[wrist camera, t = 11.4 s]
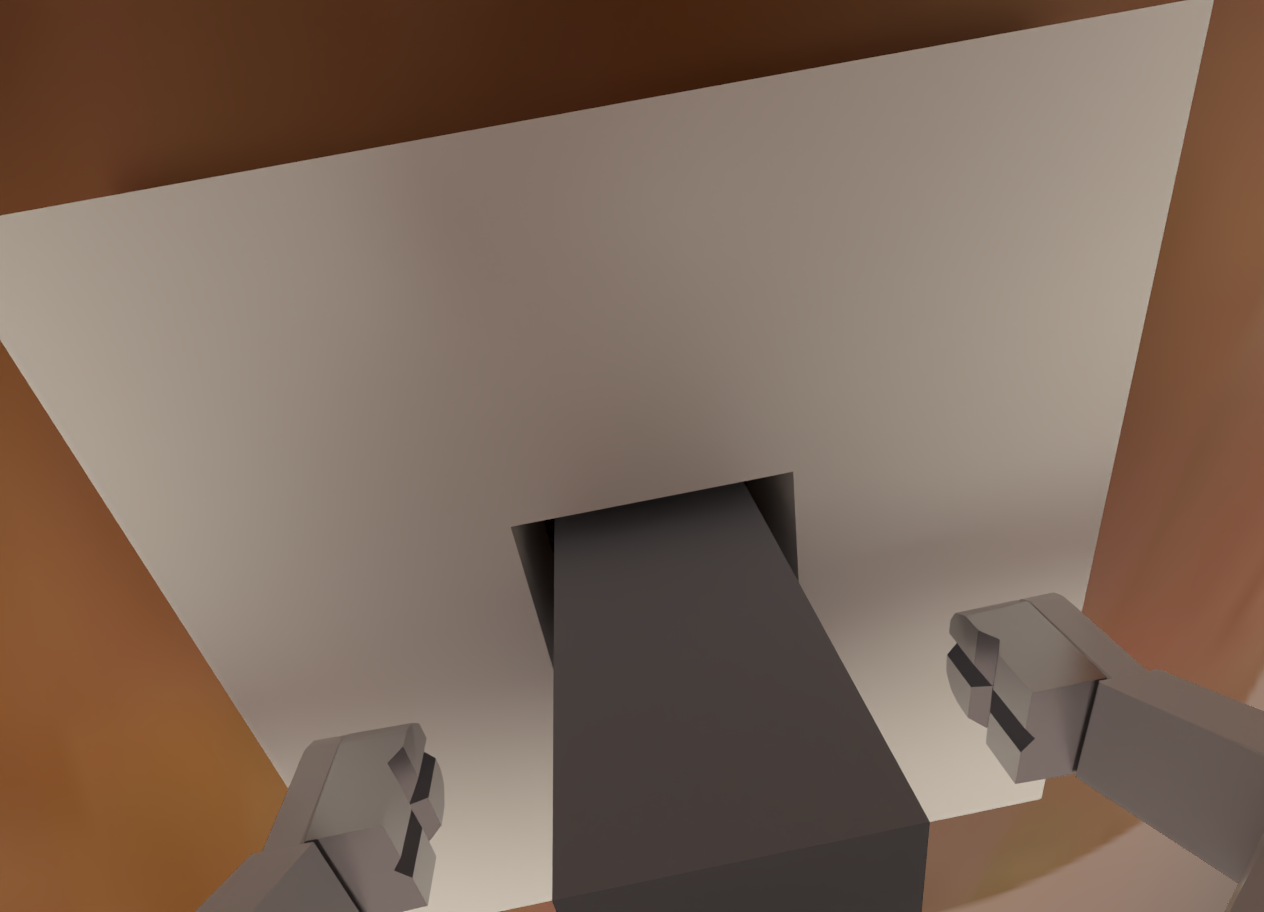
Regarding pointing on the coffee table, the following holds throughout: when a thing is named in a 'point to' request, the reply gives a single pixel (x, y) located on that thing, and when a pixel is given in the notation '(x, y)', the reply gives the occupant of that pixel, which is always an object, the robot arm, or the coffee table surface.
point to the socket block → (623, 386)
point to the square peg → (712, 727)
